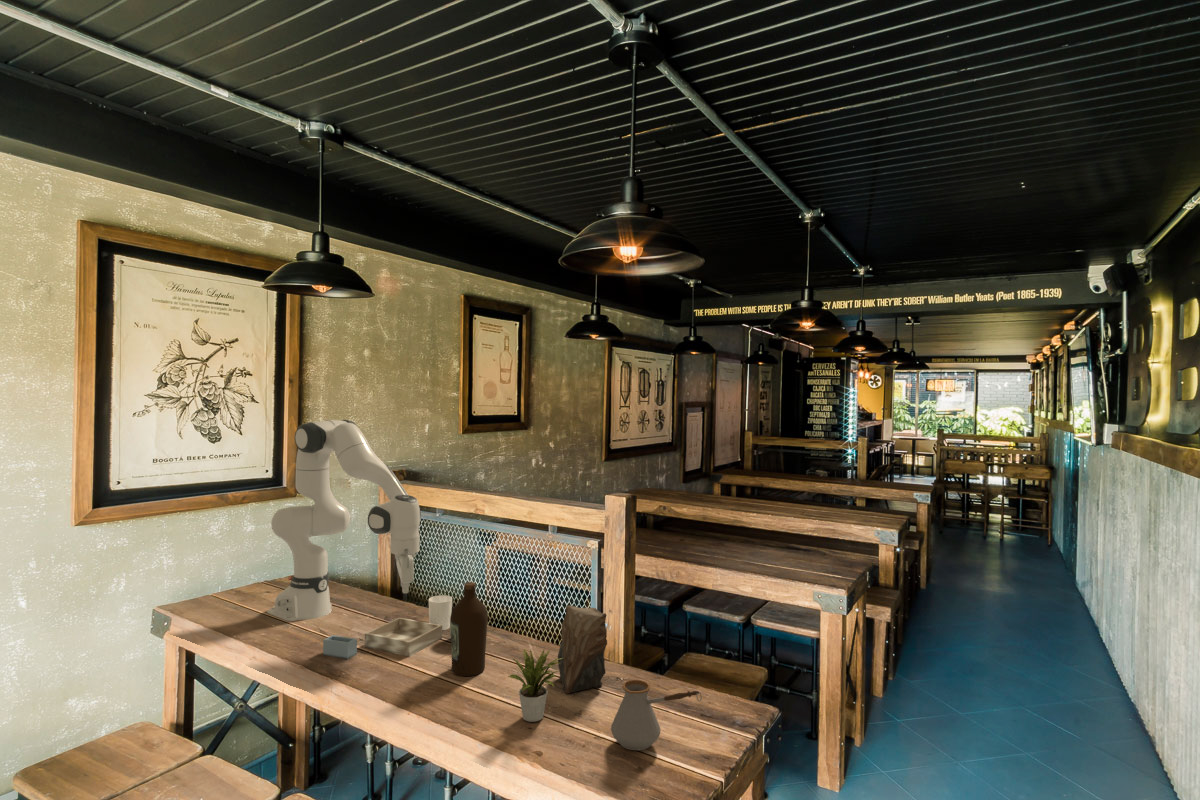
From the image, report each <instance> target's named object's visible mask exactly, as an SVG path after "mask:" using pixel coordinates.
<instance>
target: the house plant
mask: <svg viewBox="0 0 1200 800" xmlns="http://www.w3.org/2000/svg"><path fill="white" fill-rule="evenodd" d="M550 651H551V650H548V651H547V652H545V649H543V651H542V652H541V654H540V655H539V657H538V659H537V661H536V663H535V660H534V657H533V652H532V649H530V650H529V654H528V651H527V650H526V649H524V648H523V659H524V661H522V662H524V666H523V665H522V664H521V662H520V661H518V660H517V659H516V658H512V660H513V661H514V662H515V663H516V665H517V666H518V667H519V668H518V667H517V666H515V668H517V670H519V671H520V673H521V675H522V676H523V677H524V679H525V680H524V679H523V678H522V677H521V676H519V675H517V674H510V675H508V678H512V679H515V680H518V681H520V682H521V683H522V685H521V686H522V687H521V688H520V689H519V690H518V696H519V701H520V708H521V714H522V719H523V720H524V721H526V722H529V723H530V722H538V721H541V720H542V719H543V718H544V714H545V708H546V702H547V696H548V691H549V690H548V688H546V687H545V686H546V685H547V684H548V685H551V686H552V687H553V688H555V685H554V683H553V681H551V680H549V679H552V678H555V677H557V675H556V673H560V671H559V670H558V671H552V670H549V669H550V668H551V667H552V668H555V666H554V665H558V664H559V662H558V660H560V659H563V658H559V659H558V658H556V659H554V660H552V661H550V662H549V663H548V664H547V665H545V663H546V662H547V658H548V655H549V654H550ZM544 665H545V666H544ZM547 674H548V675H547ZM544 676H545V677H544Z"/></svg>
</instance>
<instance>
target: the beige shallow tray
mask: <svg viewBox="0 0 1200 800" xmlns="http://www.w3.org/2000/svg"><path fill="white" fill-rule="evenodd" d="M442 639H443V630H442V625H438V624H432V623H430V622H428V621H427V622H425V621H420V620H416V619H409V618H404V617H397V618H396V619H395V618H394V619H393V620H391V621H389V622H387V623H384V624H382V625H380V626H378V627H376V628H373V629H371V630H369V631H367V632H364V642H363V643H364V648H368V649H374V650H377V651H378V650H379V651H381V652H382V651H383V652H386V653H391V654H396V655H401V656H405V657H409V658H410V657H412V656H413V655H415V654H417V653H419V652H422V650H424V649H426V648H428V647H430V646H431V645H433V644H435V643H437V642H439V641H440V640H442Z"/></svg>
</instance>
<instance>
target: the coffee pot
mask: <svg viewBox="0 0 1200 800" xmlns="http://www.w3.org/2000/svg"><path fill="white" fill-rule="evenodd" d="M622 689H623V690H624V696H623V698H622V701H621V703H620V705H619V707H618V709H617V712H616V713H615V716H614V718H613V720H612V722H611V726H610V730H611V734H612V736H613V738H614V740H616V742H617V743H619V744H620V746H621V747H623V748H624V749H626V750H631V751H643V750H646V749H649V748H650V747H651V746H652V745H653V744H654V743H656V742H657V740H658V739H659V737H660V735H661V726H660V724H659V721H658V718H657V716H656V714H655V712H654V709H653V706H652V704H656V703H660V702H665V701H666V702H667V701H674V700H675V701H676V700H682V699H684V698H687V697H688V698H691V697H693V696H695V697H696V700H697V701H698V702H701V701H702V694H701V692H700V691H699V690H693V691H690V690H688V691H687V692H677V693H674V694H670V695H665V696H661V697H655V698H649V695H648V693H649V691H650V690H651V685H650V683H648V682H647V681H645V680H642V679H629V680H626V681H625V682H623V684H622ZM698 695H700V700H699V698H698Z"/></svg>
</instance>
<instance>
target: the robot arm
mask: <svg viewBox="0 0 1200 800" xmlns="http://www.w3.org/2000/svg"><path fill="white" fill-rule="evenodd" d="M294 444H295V446H296V448H297V453H296V460H295V489H296V491H297V493H298V494H300V495H302V497H307V498H309V499H311V500H313V502H314V504H312V505H298V506H297V505H295V506H289V507H284V508H281V509H278V510H277V511H276V512H275V513H274V514H273V516H272V518H271V522H270V523H271V526H270V527H271V529H272V532H273V533H274V535H275V536H276V537H278V538H280V539H281V540H282V541H284V542H285V543H286V544H287V545H288V547H289V548H290V551H291V553H292V559H293V575H292V576H288V577H287V578H288V579H287V581H290V583H289V585H288V587H286V588H285V589H284V590H283V591H281V592H280V593H278V594H277V595H276V597H275V601H274V606H273V607H272V608H269V609H268V610H267V614H269V615H271V616H274V617H277V618H279V619H282V620H284V621H287V622H295V621H306V620H307V619H308V620H314V619H320V618H323V617H326V616H328V615H329V613H330V614H331V613H332V612H331V611H333V610H332V603H331V598H330V597H331V596H330V587H329V582H330V573H329V571H328V569H329V567H328V563H329V562H328V561H329V560H328V559H329V556H328V555H329V553H328V552H327V550H326V549H325V548H324V547H322V546H321V545H318V544H315V543H314V542H311V541H310V537H319V536H321V537H323V536H332V535H333V536H334V535H336V534H340V533H344V532H345V531H346V530H347V529H348V528H349V525H350V523H351V514H350V512H349V509H348V508H347V507H346V506H345V505H343V504H341V503H340V502H339V501H338V499H336V497H335V496H334V494H333V492H332V489H331V481H330V479H331V477H330V455H331V454H332V452H334V454H335V457H336V458H337V460H338V464H339V465H340V467H341V469H342V470H343V471H344V473H345V474H346V475H348V476H349V477H352V478H354V479H358V480H363V481H368V482H371V483H374V484H376V485H377V486H378V487H380V488H381V489H382V490H383V492H384V494H385V495H386V496H387V499H389V501H386V502H384V503H381V504H377V505H376V506H373V507H371V509H370V511H369V512H368V514H367V525H368V527H369V529H370V531H371V532H372V533H374V534H376V535H386V534H390V536H391V537H390V554H392V555H394V559H395V562H396V563H395V564H396V568H397V571H398V572H397V573H398V575H399V578H400V587H401V588H402V590H401V591H402V594H408V593H409V592H410V590H409V589H410V584H411V583H413V582H414V579H415V578H414V572H415V571H414V570H415V569H414V567H415V563H414V558H415V557H416V554H417V553H419V552H420V541H421V540H420V537H421V535H420V531H419V529H420V528H419V527H420V525H421V524H420V522H421V517H422V516H421V515H422V513H421V508H420V504H419V500H418V499H417V498H416V497H415V496H413V495H410V494H408V492H407V490H406V489H405V488H404V487H403V485H402V484H401V482H400V480H399V479H398V477H397V475H395V473H394V471H393V470H392V469H391V468H390V467H389V465H388V464H386V463H385V462H384V461H382V460H381V459H380V458H379V456H378V455H377V454H376V453H375V452H374V450H373V449H372V447H371V445H370V444H369V441H368V440H367V438H366V436H365V435H364V433H363V432H362V431H361V429H360V428H359V426H358V425H357V424H356V422H354V421H352V420H347V419H341V420H340V419H326V420H322V421H315V422H312V421H311V422H310V421H309V422H305V423H303V424H301V425H299V426H298V427H297V428H296V431H295V432H294ZM325 615H326V616H325ZM322 616H323V617H322ZM319 617H320V618H319Z"/></svg>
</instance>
